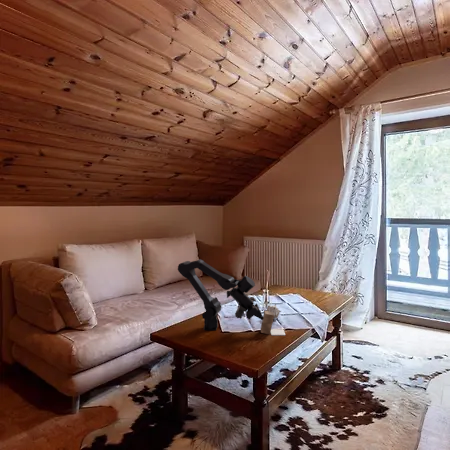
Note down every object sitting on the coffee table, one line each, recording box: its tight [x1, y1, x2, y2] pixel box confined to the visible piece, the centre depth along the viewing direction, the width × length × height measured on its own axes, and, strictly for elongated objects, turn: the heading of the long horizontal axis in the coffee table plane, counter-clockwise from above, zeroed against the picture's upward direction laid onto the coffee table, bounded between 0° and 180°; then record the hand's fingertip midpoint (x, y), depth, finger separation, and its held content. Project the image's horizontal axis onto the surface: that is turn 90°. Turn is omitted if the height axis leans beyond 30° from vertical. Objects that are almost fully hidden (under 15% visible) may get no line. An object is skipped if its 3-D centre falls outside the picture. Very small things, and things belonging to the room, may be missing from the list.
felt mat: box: [270, 328, 286, 336], centre depth 179 cm, size 7×7×1 cm
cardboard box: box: [260, 310, 274, 335], centre depth 178 cm, size 5×4×10 cm
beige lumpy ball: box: [265, 303, 282, 320], centre depth 197 cm, size 9×8×10 cm
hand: (262, 319), depth 178 cm, fingers closed
